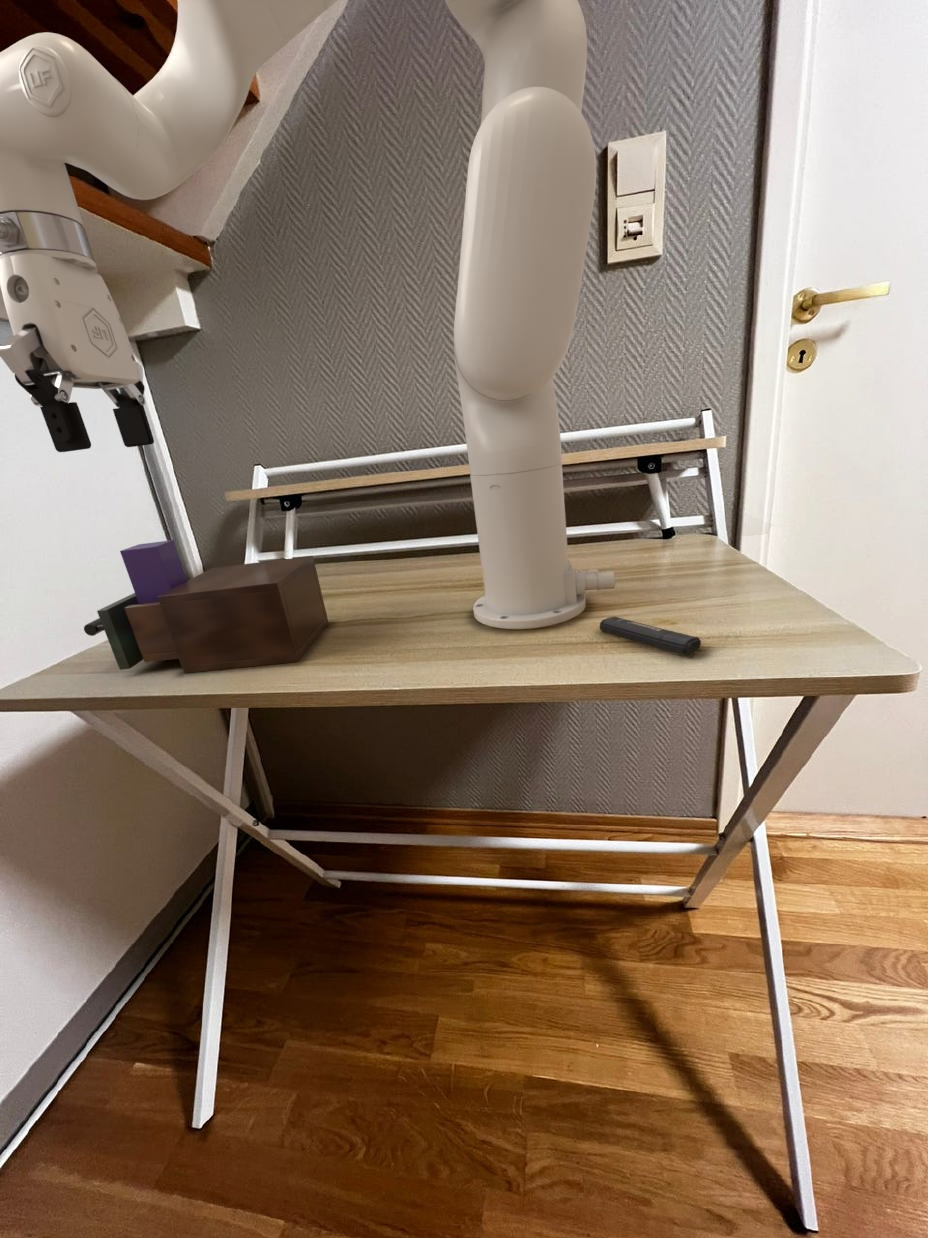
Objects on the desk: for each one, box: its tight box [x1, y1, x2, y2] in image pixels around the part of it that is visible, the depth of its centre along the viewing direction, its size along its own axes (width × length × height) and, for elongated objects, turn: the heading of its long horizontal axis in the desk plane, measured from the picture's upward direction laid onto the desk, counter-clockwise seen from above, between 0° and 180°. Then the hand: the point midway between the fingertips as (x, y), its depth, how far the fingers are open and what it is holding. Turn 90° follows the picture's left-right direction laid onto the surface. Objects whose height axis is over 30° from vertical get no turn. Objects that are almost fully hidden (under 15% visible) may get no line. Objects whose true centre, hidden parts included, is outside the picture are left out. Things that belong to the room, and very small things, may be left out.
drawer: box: [83, 592, 179, 671], centre depth 61 cm, size 15×10×7 cm, turn 87°
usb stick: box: [599, 616, 702, 657], centre depth 48 cm, size 10×3×2 cm, turn 36°
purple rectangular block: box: [119, 539, 188, 604], centre depth 60 cm, size 4×3×11 cm
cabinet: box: [158, 555, 330, 674], centre depth 60 cm, size 13×11×9 cm
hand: (110, 447), depth 55 cm, fingers open, 9 cm apart
